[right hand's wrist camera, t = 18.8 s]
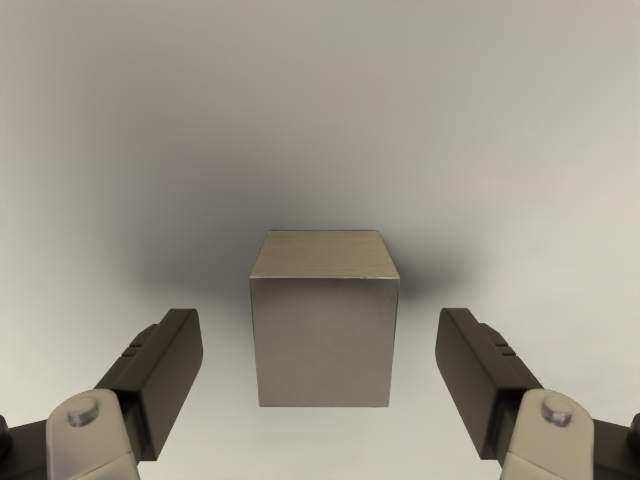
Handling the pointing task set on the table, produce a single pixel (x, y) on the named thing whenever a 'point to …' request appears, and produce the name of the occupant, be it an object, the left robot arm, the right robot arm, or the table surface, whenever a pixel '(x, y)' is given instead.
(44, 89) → the table surface
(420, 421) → the table surface
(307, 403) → the brick
